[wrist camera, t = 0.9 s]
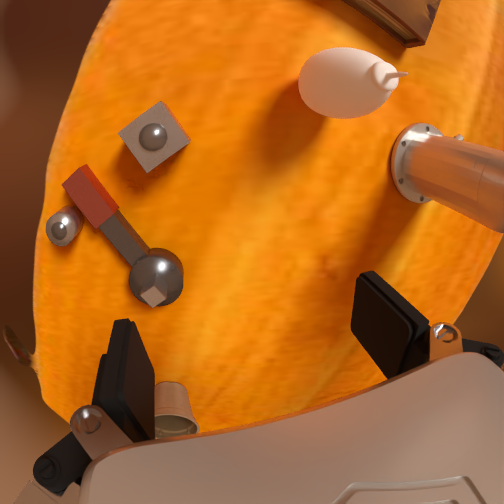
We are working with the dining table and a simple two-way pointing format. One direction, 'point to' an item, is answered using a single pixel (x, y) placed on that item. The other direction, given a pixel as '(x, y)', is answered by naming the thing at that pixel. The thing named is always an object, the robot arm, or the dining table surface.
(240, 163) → the dining table surface
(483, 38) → the dining table surface
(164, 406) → the flower pot
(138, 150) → the socket
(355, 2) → the diary
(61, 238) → the socket
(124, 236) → the ratchet
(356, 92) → the white air blower bulb
